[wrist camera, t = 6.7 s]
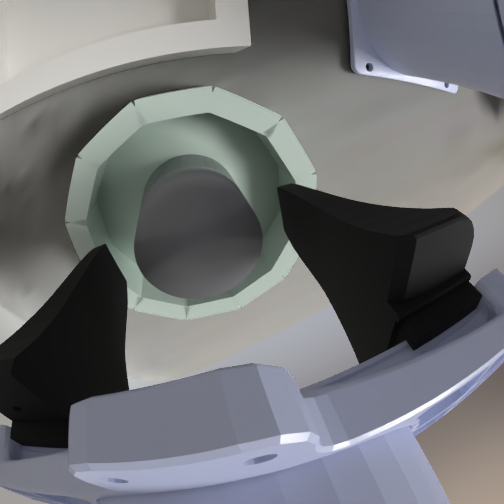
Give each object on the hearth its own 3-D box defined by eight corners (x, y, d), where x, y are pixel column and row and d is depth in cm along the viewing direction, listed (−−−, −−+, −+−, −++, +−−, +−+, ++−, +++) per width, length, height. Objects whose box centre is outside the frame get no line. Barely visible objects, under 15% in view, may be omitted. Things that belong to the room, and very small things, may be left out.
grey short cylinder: (222, 140, 12) (245, 168, 9) (246, 223, 15) (273, 275, 11) (127, 176, 12) (111, 218, 8) (164, 253, 15) (166, 312, 11)
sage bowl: (288, 79, 12) (316, 81, 9) (290, 261, 18) (309, 291, 16) (62, 120, 10) (37, 132, 8) (121, 296, 16) (117, 332, 14)
